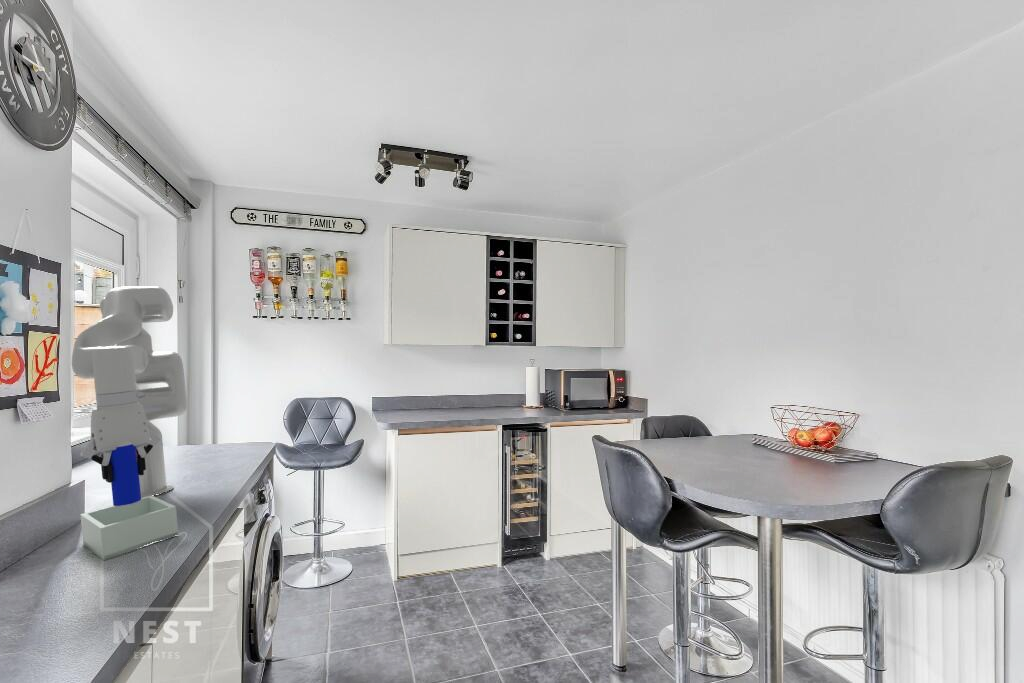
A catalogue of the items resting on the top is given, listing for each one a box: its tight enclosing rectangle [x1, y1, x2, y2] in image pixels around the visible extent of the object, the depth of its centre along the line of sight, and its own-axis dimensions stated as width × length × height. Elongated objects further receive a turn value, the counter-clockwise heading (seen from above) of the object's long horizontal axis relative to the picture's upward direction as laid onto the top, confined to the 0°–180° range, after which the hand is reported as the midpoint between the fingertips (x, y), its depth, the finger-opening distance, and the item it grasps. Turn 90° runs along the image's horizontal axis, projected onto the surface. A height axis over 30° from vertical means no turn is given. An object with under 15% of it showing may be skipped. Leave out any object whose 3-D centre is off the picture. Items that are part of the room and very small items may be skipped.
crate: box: [79, 495, 179, 561], centre depth 117 cm, size 16×14×7 cm
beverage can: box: [109, 441, 141, 508], centre depth 117 cm, size 5×5×15 cm
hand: (124, 477), depth 117 cm, fingers closed on beverage can, 5 cm apart
